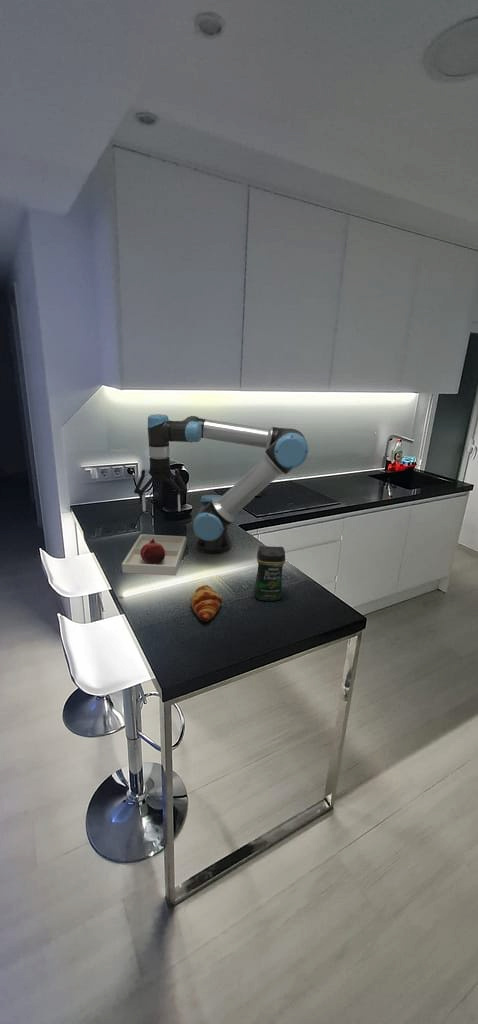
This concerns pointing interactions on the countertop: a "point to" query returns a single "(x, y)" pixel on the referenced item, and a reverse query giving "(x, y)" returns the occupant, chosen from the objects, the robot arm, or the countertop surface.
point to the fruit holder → (167, 567)
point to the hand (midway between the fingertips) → (162, 510)
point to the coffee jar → (269, 573)
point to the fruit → (152, 552)
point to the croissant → (205, 602)
